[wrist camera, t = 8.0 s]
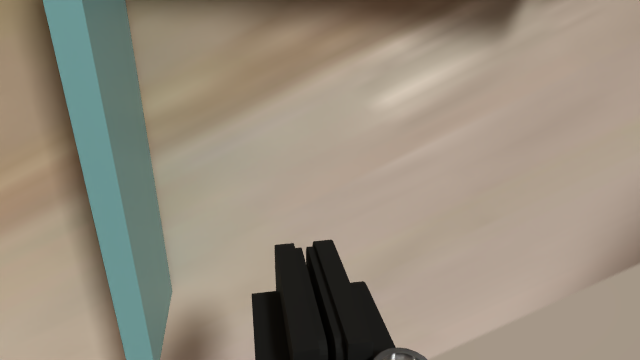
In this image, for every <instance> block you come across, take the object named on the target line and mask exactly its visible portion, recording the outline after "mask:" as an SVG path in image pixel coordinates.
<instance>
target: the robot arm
mask: <svg viewBox="0 0 640 360" xmlns="http://www.w3.org/2000/svg"><path fill="white" fill-rule="evenodd" d="M275 272H276V291H273V292H264V293H255V294H252V308H253V326H254V343H255V360H427V359H426V358H425V357H424V356H422V355H421V354H419V353H417V352H415V351H412V350H410V349H406V348H396V347H395V345H394V343H393V341H392V339H391V337H390V335H389V332H388V330H387V328H386V326H385V324H384V322H383V319H382V317H381V315H380V313H379V311H378V309H377V307H376V304H375V302H374V300H373V298H372V296H371V294H370V291H369V289H368V287H367V285H366V284H365V282H363V281H362V282H353V283H350V282H349V279H348V277H347V274H346V272H345V269H344V267H343V264H342V262H341V260H340V257H339V255H338V252H337V250H336V247H335V245H334V243H333V241H332V240H324V241H314V242H313V247H307V248H306V262H305V259H304V255H303V251H302V248H295V246H294V243H291V244H280V245H275Z"/></svg>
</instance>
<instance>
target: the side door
mask: <svg viewBox="0 0 640 360" xmlns="http://www.w3.org/2000/svg"><path fill="white" fill-rule="evenodd" d="M43 4H44V8H45V12H46V16H47V21H48V25H49V29H50V34H51V38H52V42H53V47H54V51H55V55H56V59H57V64H58V68H59V72H60V77H61V81H62V85H63V90H64V94H65V98H66V103H67V107H68V111H69V115H70V120H71V124H72V128H73V133H74V137H75V141H76V146H77V150H78V154H79V159H80V163H81V167H82V171H83V176H84V180H85V184H86V189H87V193H88V197H89V202H90V206H91V210H92V215H93V219H94V223H95V227H96V232H97V236H98V240H99V245H100V249H101V253H102V258H103V262H104V266H105V271H106V275H107V279H108V283H109V288H110V292H111V296H112V301H113V305H114V309H115V314H116V318H117V322H118V326H119V331H120V335H121V339H122V344H123V348H124V352H125V357H126V360H160V356H161V351H162V345H163V339H164V334H165V328H166V323H167V317H168V312H169V306H170V300H171V295H172V287H171V281H170V275H169V269H168V262H167V256H166V250H165V244H164V238H163V231H162V225H161V219H160V213H159V207H158V200H157V194H156V188H155V182H154V176H153V169H152V163H151V157H150V151H149V145H148V139H147V132H146V126H145V120H144V114H143V108H142V101H141V95H140V89H139V83H138V77H137V70H136V64H135V58H134V52H133V46H132V39H131V33H130V27H129V21H128V15H127V8H126V2H125V0H43Z"/></svg>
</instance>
